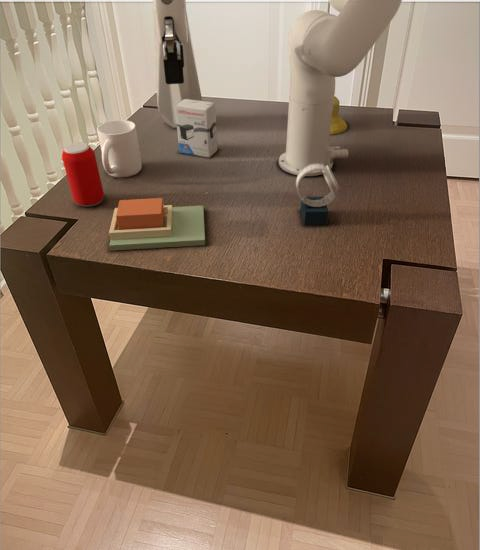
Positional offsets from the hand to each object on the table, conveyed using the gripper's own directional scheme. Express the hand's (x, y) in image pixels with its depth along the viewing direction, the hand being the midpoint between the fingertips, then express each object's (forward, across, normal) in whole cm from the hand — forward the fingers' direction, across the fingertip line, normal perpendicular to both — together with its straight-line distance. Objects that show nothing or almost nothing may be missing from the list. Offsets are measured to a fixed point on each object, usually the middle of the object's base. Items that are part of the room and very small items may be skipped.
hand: (175, 75), depth 85 cm
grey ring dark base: (+24, -15, -25) cm, 37 cm away
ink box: (+24, +18, -3) cm, 30 cm away
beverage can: (+24, -4, +20) cm, 31 cm away
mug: (+24, +8, +15) cm, 29 cm away
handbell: (+24, +31, -38) cm, 54 cm away
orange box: (+22, -16, +8) cm, 28 cm away
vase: (+24, +37, +1) cm, 44 cm away
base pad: (+23, -16, +5) cm, 29 cm away
